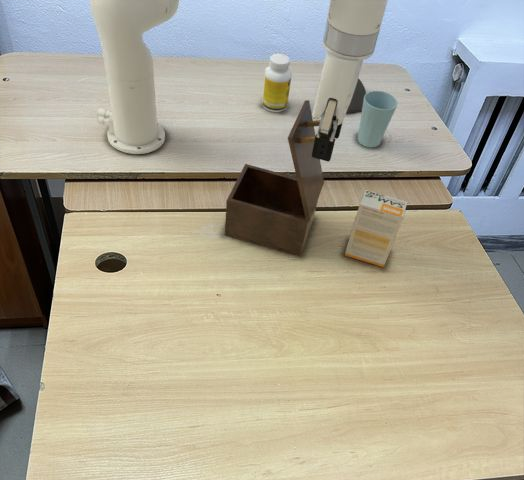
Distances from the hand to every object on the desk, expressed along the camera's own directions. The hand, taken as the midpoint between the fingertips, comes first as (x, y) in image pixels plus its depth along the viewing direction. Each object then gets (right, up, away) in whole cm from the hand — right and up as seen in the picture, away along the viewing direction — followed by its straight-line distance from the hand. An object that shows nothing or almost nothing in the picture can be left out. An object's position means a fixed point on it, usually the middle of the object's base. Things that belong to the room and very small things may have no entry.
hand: (325, 146), depth 90 cm
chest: (-9, -10, +18) cm, 22 cm away
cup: (+15, +16, +38) cm, 44 cm away
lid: (-3, -2, +4) cm, 5 cm away
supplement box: (+10, -15, +16) cm, 25 cm away
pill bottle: (-8, +26, +43) cm, 50 cm away
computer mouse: (+11, +31, +48) cm, 58 cm away
